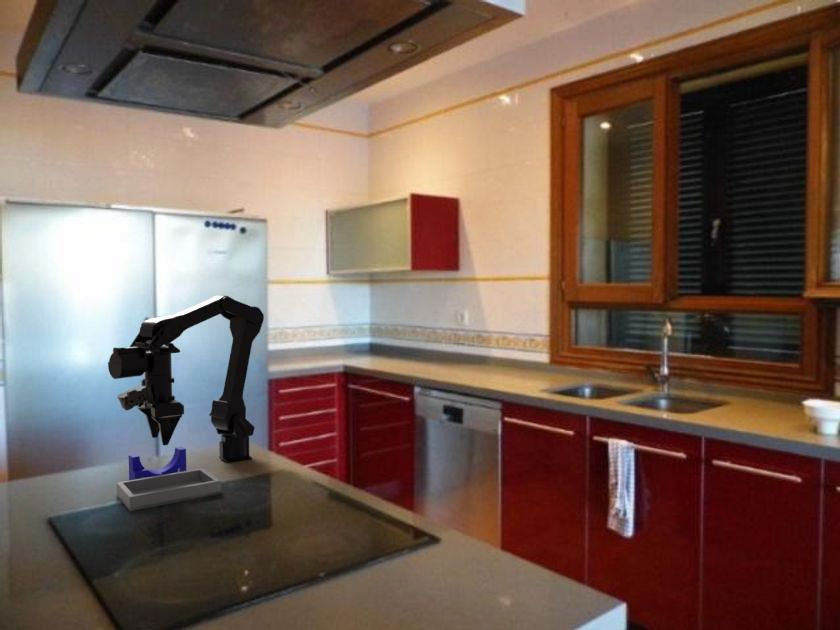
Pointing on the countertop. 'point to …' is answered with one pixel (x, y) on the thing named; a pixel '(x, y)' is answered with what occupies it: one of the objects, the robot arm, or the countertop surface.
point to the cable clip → (172, 467)
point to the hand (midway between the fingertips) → (159, 441)
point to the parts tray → (167, 489)
